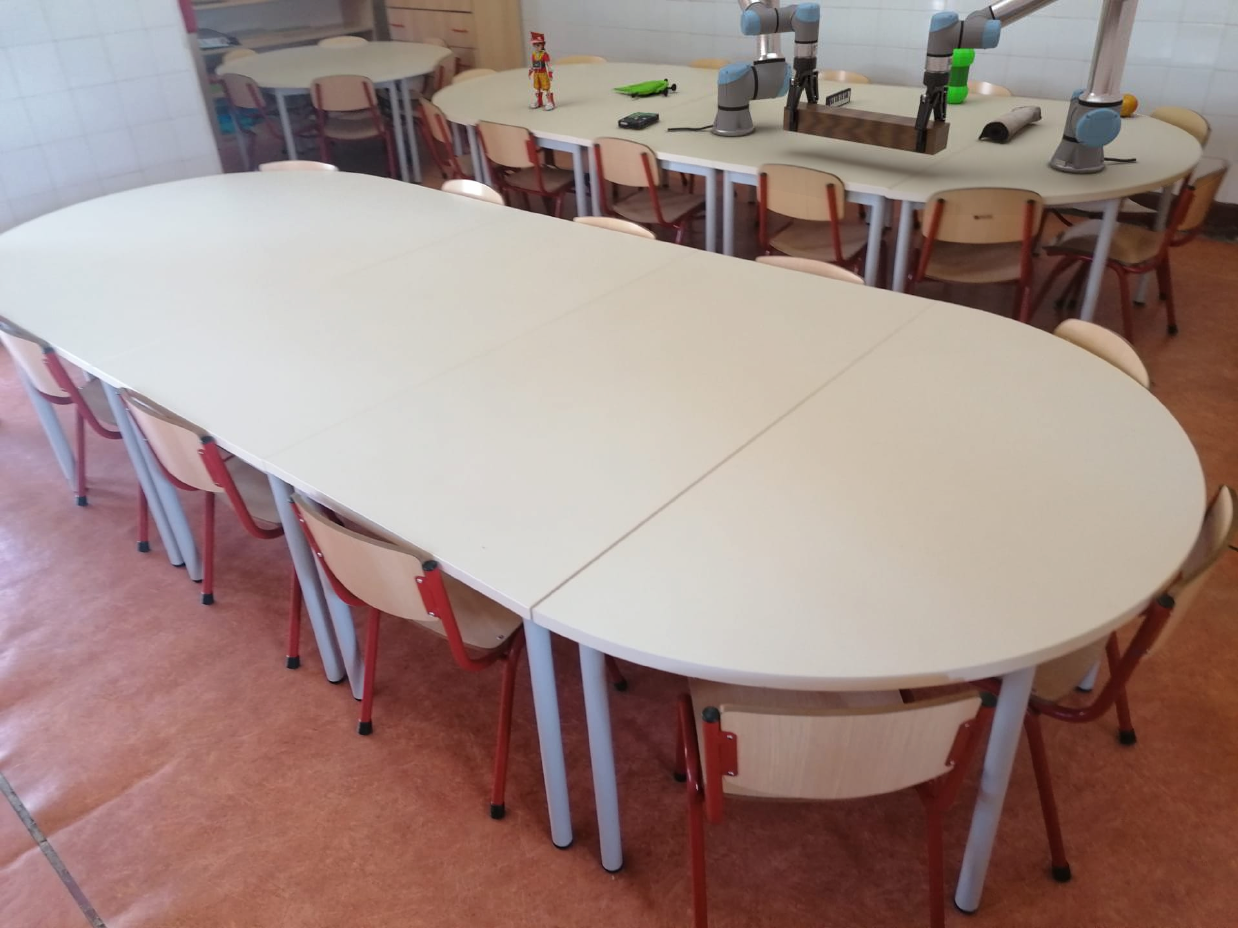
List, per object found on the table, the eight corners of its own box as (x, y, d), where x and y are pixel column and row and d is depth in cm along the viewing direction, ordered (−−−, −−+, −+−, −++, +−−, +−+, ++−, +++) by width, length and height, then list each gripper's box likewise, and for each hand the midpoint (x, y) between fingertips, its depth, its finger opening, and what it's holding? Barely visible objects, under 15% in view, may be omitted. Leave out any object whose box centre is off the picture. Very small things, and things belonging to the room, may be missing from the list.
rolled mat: (1009, 110, 328) (1033, 93, 320) (1023, 131, 328) (1047, 114, 320) (974, 133, 311) (998, 115, 302) (988, 155, 311) (1013, 138, 303)
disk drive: (640, 130, 344) (659, 120, 354) (640, 123, 343) (659, 113, 353) (617, 128, 349) (637, 118, 359) (617, 120, 348) (636, 111, 358)
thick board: (782, 130, 305) (783, 107, 301) (797, 124, 311) (798, 101, 306) (933, 155, 274) (936, 129, 270) (946, 148, 279) (950, 123, 275)
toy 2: (686, 85, 398) (631, 84, 414) (685, 72, 395) (629, 72, 411) (651, 104, 381) (596, 103, 397) (650, 92, 378) (594, 91, 394)
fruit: (1107, 107, 323) (1124, 87, 320) (1104, 110, 331) (1120, 91, 328) (1128, 120, 322) (1144, 99, 319) (1124, 123, 330) (1140, 103, 327)
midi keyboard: (827, 110, 354) (828, 97, 351) (824, 110, 354) (825, 97, 352) (850, 101, 364) (851, 88, 361) (847, 101, 365) (848, 88, 362)
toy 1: (525, 109, 381) (517, 32, 364) (534, 104, 388) (527, 28, 371) (550, 110, 377) (543, 32, 360) (559, 105, 384) (553, 28, 367)
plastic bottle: (973, 101, 354) (984, 32, 339) (955, 106, 349) (966, 36, 335) (952, 97, 361) (962, 29, 346) (934, 102, 356) (944, 33, 342)
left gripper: (796, 64, 284) (792, 137, 297) (833, 51, 296) (827, 121, 309) (776, 61, 288) (773, 133, 301) (813, 49, 301) (809, 119, 314)
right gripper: (932, 79, 257) (922, 159, 270) (965, 64, 270) (954, 141, 283) (908, 77, 262) (899, 155, 275) (942, 62, 274) (931, 138, 287)
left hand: (801, 127), depth 305 cm, fingers closed on thick board, 9 cm apart
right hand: (927, 148), depth 279 cm, fingers closed on thick board, 9 cm apart
